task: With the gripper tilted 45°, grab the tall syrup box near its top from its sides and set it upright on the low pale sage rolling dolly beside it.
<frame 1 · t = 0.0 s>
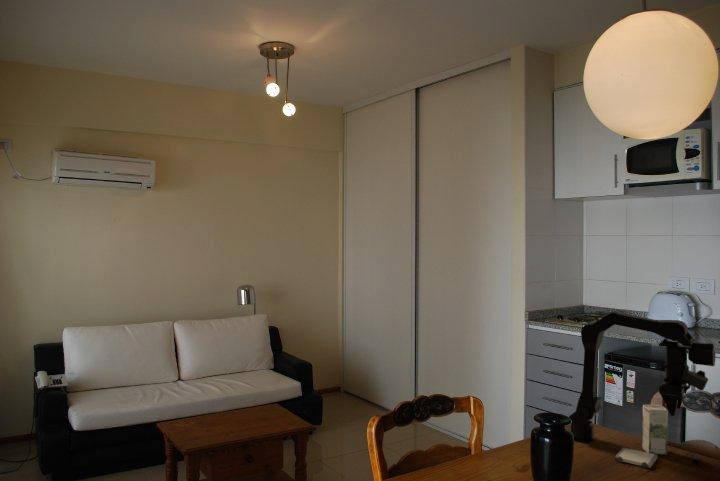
hand: (675, 412, 182), 15 cm above the table, tool pointing down, fingers open, 9 cm apart
dolly: (636, 456, 181), point 1 cm above the table, slide at 0.0 cm
syrup box: (654, 452, 188), on the table
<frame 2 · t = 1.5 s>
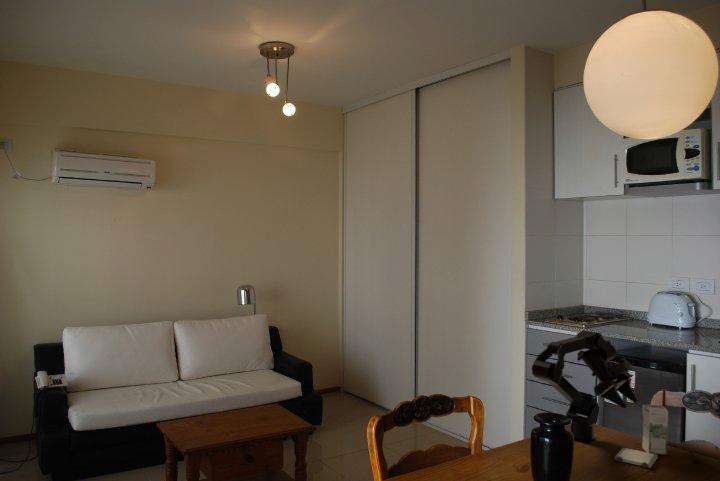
hand: (631, 404, 193), 14 cm above the table, tool tilted 45°, fingers open, 9 cm apart
nothing on the table moved.
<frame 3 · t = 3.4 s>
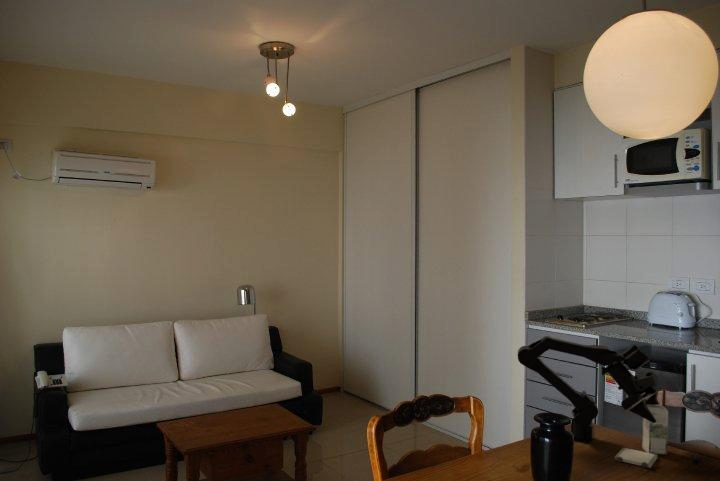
hand: (659, 419, 187), 11 cm above the table, tool tilted 45°, fingers closed on syrup box, 8 cm apart
syrup box: (654, 452, 188), on the table, touching gripper
everything else where it was.
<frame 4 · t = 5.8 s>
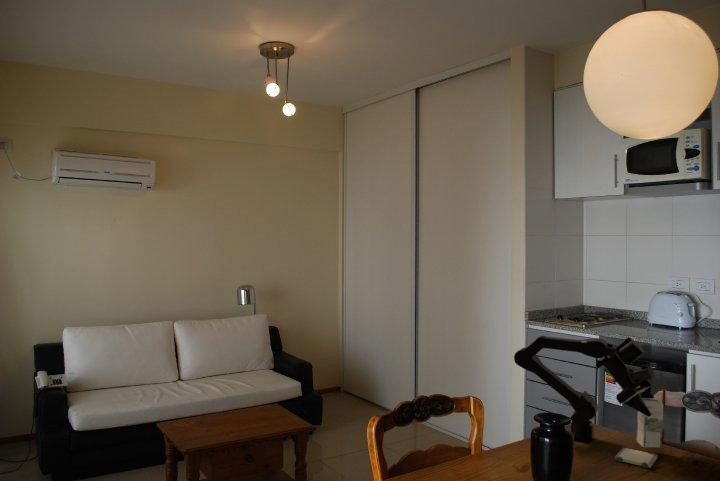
hand: (654, 413, 185), 13 cm above the table, tool tilted 45°, fingers closed on syrup box, 8 cm apart
syrup box: (648, 445, 187), point 2 cm above the table, touching gripper
everything else where it was.
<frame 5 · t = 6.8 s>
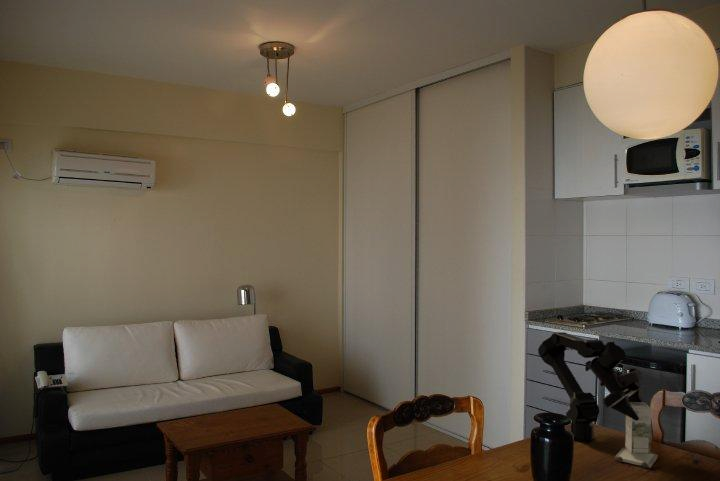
hand: (642, 416, 181), 13 cm above the table, tool tilted 45°, fingers closed on syrup box, 8 cm apart
syrup box: (637, 451, 182), point 2 cm above the table, touching gripper
everything else where it was.
when the fingers open (13 cm above the table, at t = 7.9 s): syrup box stays where it is, resting on dolly.
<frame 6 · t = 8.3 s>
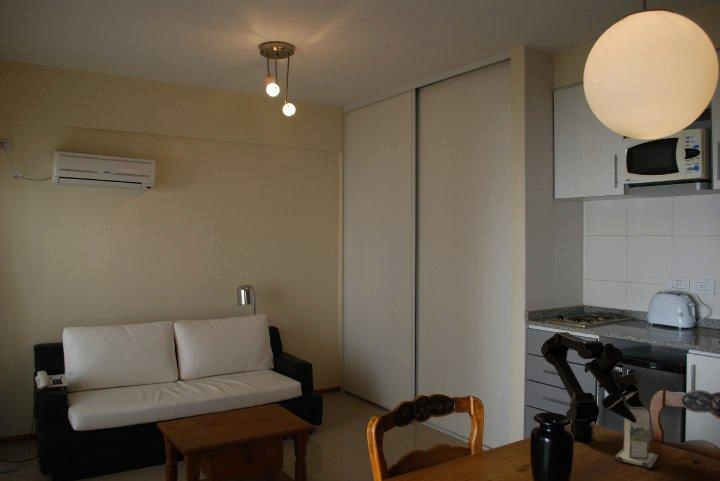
hand: (641, 418, 180), 13 cm above the table, tool tilted 45°, fingers open, 9 cm apart
dolly: (636, 456, 181), point 1 cm above the table, slide at 0.0 cm, touching syrup box
syrup box: (635, 455, 182), point 1 cm above the table, touching dolly
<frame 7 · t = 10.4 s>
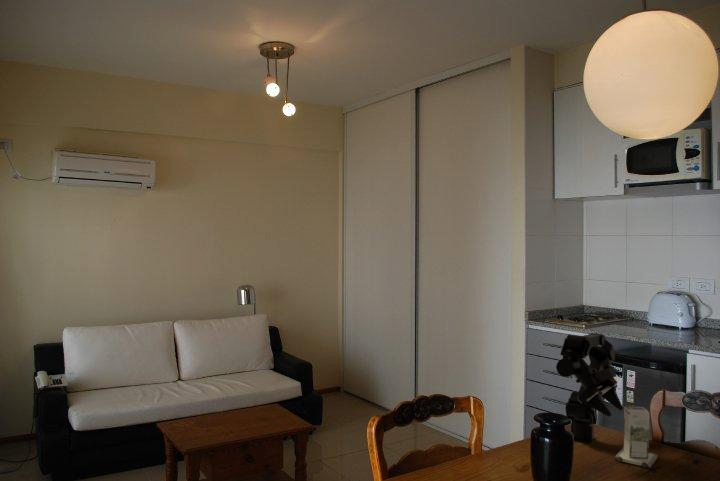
hand: (616, 412, 186), 13 cm above the table, tool tilted 45°, fingers open, 9 cm apart
nothing on the table moved.
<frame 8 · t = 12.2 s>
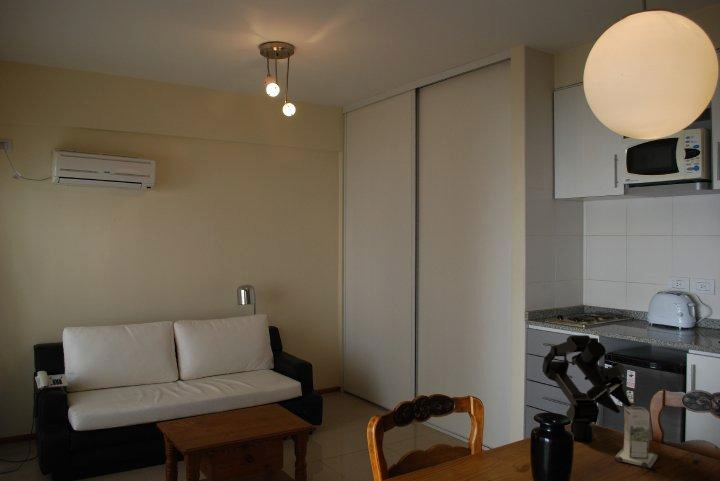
hand: (624, 409, 188), 14 cm above the table, tool tilted 45°, fingers open, 9 cm apart
nothing on the table moved.
at the end: syrup box 0.4 cm off-centre on the dolly, point 1.0 cm above the dolly's base; syrup box tilted 0°; syrup box touching dolly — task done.
